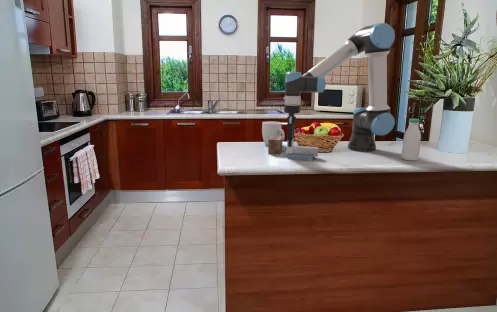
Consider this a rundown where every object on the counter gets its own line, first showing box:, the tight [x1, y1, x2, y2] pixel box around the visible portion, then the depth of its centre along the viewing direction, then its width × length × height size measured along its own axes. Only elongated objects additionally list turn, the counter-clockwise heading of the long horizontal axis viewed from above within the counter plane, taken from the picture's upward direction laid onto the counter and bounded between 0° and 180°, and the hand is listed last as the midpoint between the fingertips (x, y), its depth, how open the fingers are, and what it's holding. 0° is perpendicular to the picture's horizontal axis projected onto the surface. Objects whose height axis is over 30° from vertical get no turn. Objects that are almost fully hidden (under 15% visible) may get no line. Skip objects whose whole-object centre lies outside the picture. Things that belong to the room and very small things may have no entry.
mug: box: [261, 120, 285, 146], centre depth 203 cm, size 15×11×13 cm
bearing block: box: [267, 135, 284, 155], centre depth 187 cm, size 6×12×8 cm, turn 168°
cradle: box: [287, 154, 314, 161], centre depth 175 cm, size 12×9×2 cm
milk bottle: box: [401, 118, 422, 162], centre depth 173 cm, size 8×8×20 cm
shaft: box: [286, 145, 319, 158], centre depth 174 cm, size 15×4×4 cm, turn 78°
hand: (290, 151), depth 176 cm, fingers closed on shaft, 4 cm apart
